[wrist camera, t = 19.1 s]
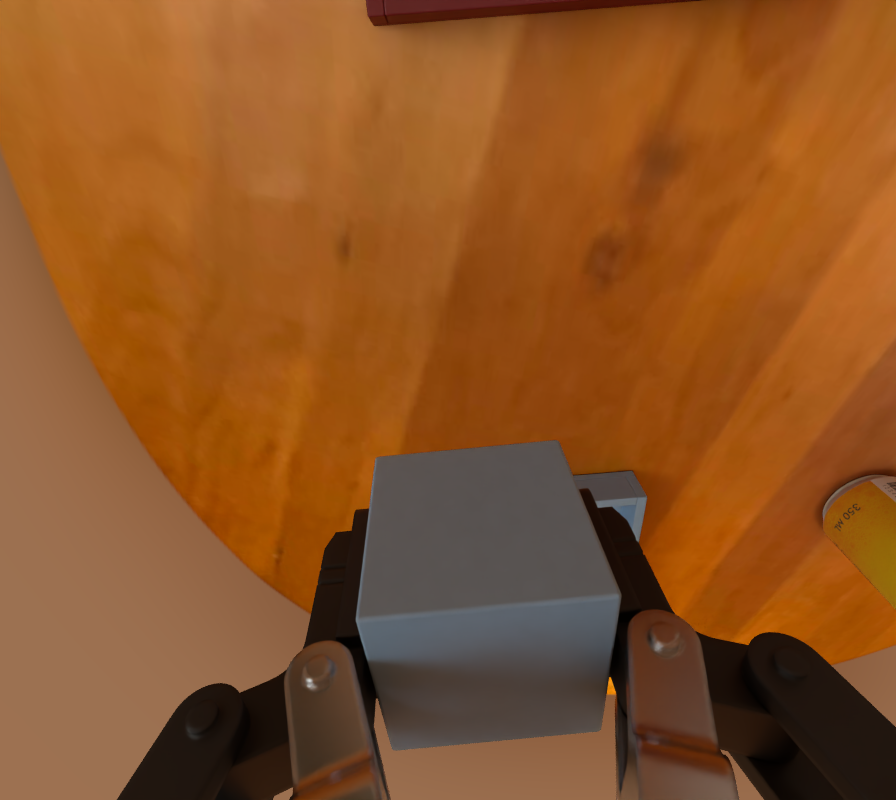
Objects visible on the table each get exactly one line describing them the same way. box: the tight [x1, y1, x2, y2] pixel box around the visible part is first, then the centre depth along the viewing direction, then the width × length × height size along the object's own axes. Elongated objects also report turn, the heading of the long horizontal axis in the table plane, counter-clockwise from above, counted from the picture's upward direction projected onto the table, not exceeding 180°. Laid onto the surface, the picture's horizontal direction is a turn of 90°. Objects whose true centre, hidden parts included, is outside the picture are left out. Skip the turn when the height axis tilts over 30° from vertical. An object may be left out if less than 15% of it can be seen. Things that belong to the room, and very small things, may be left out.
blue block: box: [356, 440, 621, 750], centre depth 11 cm, size 4×4×4 cm
